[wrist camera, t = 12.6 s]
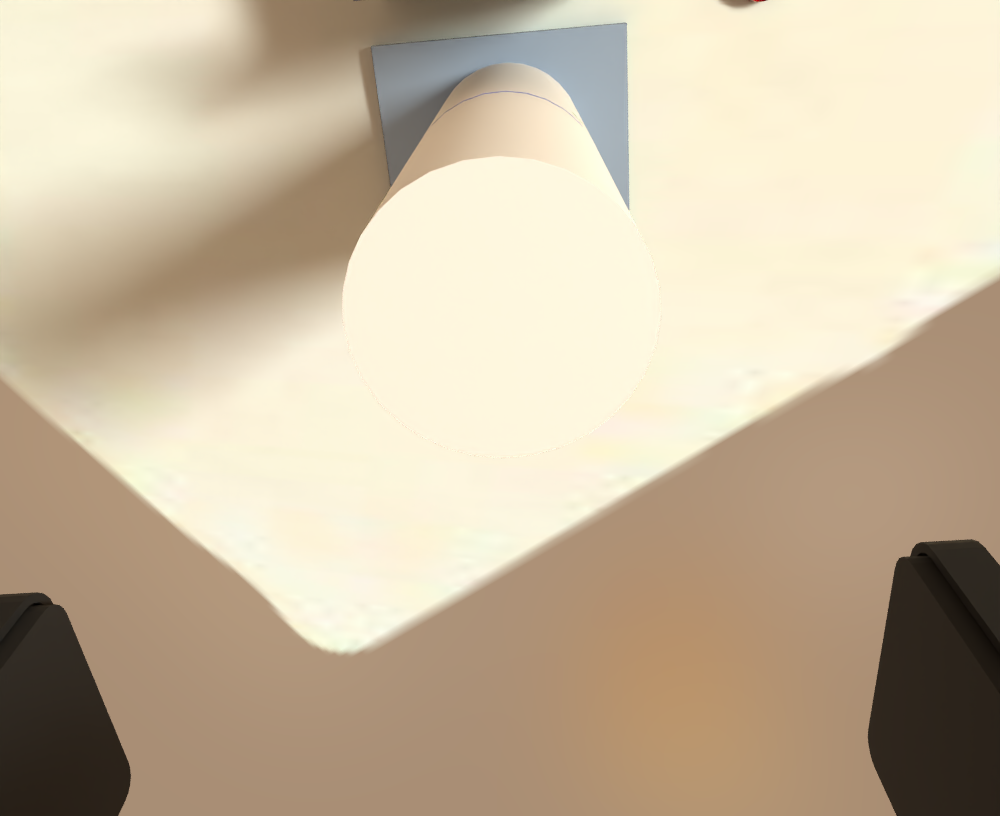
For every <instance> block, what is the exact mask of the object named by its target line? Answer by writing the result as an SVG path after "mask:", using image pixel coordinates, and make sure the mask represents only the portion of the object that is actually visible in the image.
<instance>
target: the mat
mask: <svg viewBox="0 0 1000 816" xmlns="http://www.w3.org/2000/svg"><path fill="white" fill-rule="evenodd" d="M371 51H372V58H373V65H374V72H375V79H376V86H377V93H378V100H379V107H380V114H381V121H382V128H383V135H384V142H385V149H386V156H387V164H388V171H389V178H390V185H391V186H392V185H393V183H394V182H395V180H396V179H397V177H398V175H399V174H400V172H401V171H402V169H403V168H404V166H405V164H406V163H407V161H408V160H409V158H410V156H411V155H412V153H413V152H414V150H415V149H416V147H417V145H418V144H419V142H420V141H421V139H422V138H423V136H424V134H425V133H426V131H427V130H428V128H429V126H430V125H431V123H432V122H433V120H434V119H435V117H436V115H437V114H438V112H439V111H440V109H441V107H442V106H443V104H444V103H445V101H446V100H447V98H448V97H449V95H450V94H451V92H452V91H453V90H454V88H455V87H456V86H457V85H458V84H459V83H460V82H461V81H462V80H463V79H464V78H466V77H467V76H469V75H470V74H472V73H474V72H475V71H477V70H479V69H481V68H484V67H487V66H490V65H492V64H500V63H507V62H509V63H520V64H525V65H528V66H532V67H535V68H538V69H539V70H541V71H543V72H545V73H547V74H548V75H550V76H551V77H552V78H553V79H555V80H556V81H557V82H558V83H559V84H560V85H561V86H562V87H563V89H564V90H565V91H566V92H567V94H568V95H569V96H570V98H571V100H572V102H573V104H574V106H575V108H576V110H577V111H578V113H579V115H580V117H581V119H582V121H583V123H584V125H585V127H586V128H587V130H588V132H589V134H590V136H591V138H592V140H593V142H594V144H595V146H596V148H597V150H598V152H599V154H600V156H601V158H602V159H603V161H604V163H605V165H606V167H607V169H608V171H609V173H610V175H611V177H612V179H613V181H614V183H615V185H616V187H617V189H618V191H619V193H620V195H621V197H622V199H623V201H624V203H625V205H626V206H627V208H628V210H629V154H628V81H627V23H617V24H606V25H595V26H584V27H573V28H562V29H551V30H540V31H530V32H519V33H508V34H497V35H486V36H475V37H464V38H453V39H442V40H431V41H420V42H409V43H398V44H387V45H376V46H371Z"/></svg>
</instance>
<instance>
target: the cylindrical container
mask: <svg viewBox="0 0 1000 816" xmlns="http://www.w3.org/2000/svg"><path fill="white" fill-rule="evenodd" d="M660 322H661V302H660V285H659V282H658V278H657V274H656V270H655V266H654V262H653V259H652V255H651V253H650V252H649V250H648V248H647V246H646V244H645V242H644V240H643V238H642V236H641V234H640V232H639V230H638V228H637V226H636V224H635V222H634V220H633V218H632V216H631V214H630V212H629V210H628V208H627V206H626V205H625V203H624V201H623V199H622V197H621V195H620V193H619V191H618V189H617V187H616V185H615V183H614V181H613V179H612V177H611V175H610V173H609V171H608V169H607V167H606V165H605V163H604V161H603V159H602V158H601V156H600V154H599V152H598V150H597V148H596V146H595V144H594V142H593V140H592V138H591V136H590V134H589V132H588V130H587V128H586V127H585V125H584V123H583V121H582V119H581V117H580V115H579V113H578V111H577V110H576V108H575V106H574V104H573V102H572V100H571V98H570V96H569V95H568V94H567V92H566V91H565V90H564V89H563V87H562V86H561V85H560V84H559V83H558V82H557V81H556V80H555V79H553V78H552V77H551V76H550V75H548V74H547V73H545V72H543V71H541V70H539V69H538V68H535V67H532V66H528V65H525V64H520V63H509V62H507V63H500V64H492V65H490V66H487V67H484V68H481V69H479V70H477V71H475V72H474V73H472V74H470V75H469V76H467V77H466V78H464V79H463V80H462V81H461V82H460V83H459V84H458V85H457V86H456V87H455V88H454V90H453V91H452V92H451V94H450V95H449V97H448V98H447V100H446V101H445V103H444V104H443V106H442V107H441V109H440V111H439V112H438V114H437V115H436V117H435V119H434V120H433V122H432V123H431V125H430V126H429V128H428V130H427V131H426V133H425V134H424V136H423V138H422V139H421V141H420V142H419V144H418V145H417V147H416V149H415V150H414V152H413V153H412V155H411V156H410V158H409V160H408V161H407V163H406V164H405V166H404V168H403V169H402V171H401V172H400V174H399V175H398V177H397V179H396V180H395V182H394V183H393V185H392V186H391V188H390V190H389V191H388V193H387V194H386V196H385V198H384V199H383V201H382V202H381V204H380V205H379V207H378V209H377V210H376V212H375V213H374V215H373V217H372V218H371V220H370V221H369V223H368V224H367V226H366V228H365V229H364V231H363V232H362V234H361V235H360V238H359V240H358V242H357V245H356V247H355V249H354V251H353V254H352V256H351V258H350V260H349V264H348V268H347V273H346V278H345V282H344V287H343V325H344V330H345V335H346V339H347V344H348V348H349V352H350V354H351V357H352V359H353V361H354V363H355V366H356V368H357V370H358V372H359V374H360V377H361V379H362V380H363V382H364V383H365V385H366V386H367V387H368V389H369V390H370V391H371V393H372V394H373V396H374V397H375V398H376V400H377V401H378V403H379V404H380V405H381V406H382V407H384V408H385V409H386V410H387V411H388V412H389V413H390V414H391V415H392V416H393V417H394V418H395V419H396V420H397V421H398V422H399V423H401V424H402V425H404V426H405V427H407V428H408V429H410V430H411V431H413V432H414V433H416V434H417V435H419V436H420V437H422V438H424V439H426V440H429V441H431V442H433V443H435V444H438V445H440V446H442V447H444V448H447V449H450V450H454V451H458V452H462V453H466V454H470V455H474V456H485V457H497V458H509V457H519V456H530V455H536V454H539V453H543V452H546V451H550V450H554V449H557V448H561V447H563V446H565V445H567V444H570V443H572V442H574V441H576V440H578V439H580V438H582V437H584V436H586V435H588V434H590V433H591V432H592V431H594V430H595V429H596V428H598V427H599V426H600V425H602V424H603V423H604V422H606V421H607V420H608V419H610V418H611V417H612V416H613V415H614V414H615V413H616V412H617V411H618V410H619V409H620V408H621V407H622V406H623V405H624V403H625V402H626V401H627V400H628V399H629V398H630V397H631V395H632V394H633V392H634V391H635V389H636V388H637V386H638V385H639V383H640V381H641V380H642V378H643V377H644V375H645V373H646V371H647V368H648V366H649V363H650V361H651V358H652V356H653V353H654V351H655V349H656V343H657V338H658V333H659V327H660Z"/></svg>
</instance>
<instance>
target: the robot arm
mask: <svg viewBox="0 0 1000 816" xmlns="http://www.w3.org/2000/svg"><path fill="white" fill-rule="evenodd" d="M868 743H869V749H870V754H871V758H872V761H873V764H874V767H875V769H876V771H877V774H878V776H879V778H880V780H881V782H882V785H883V787H884V789H885V791H886V793H887V795H888V798H889V800H890V802H891V804H892V806H893V809H894V811H895V813H896V815H897V816H1000V565H999V564H998V563H997V562H996V560H995V559H994V558H993V557H992V556H991V555H990V553H989V552H988V551H987V550H986V548H985V547H984V546H983V545H981V544H980V543H979V542H978V541H975V540H972V539H971V540H954V541H938V542H937V541H936V542H921V543H918V544H916V545H915V547H914V548H913V549H912V553H911V556H910V557H901V558H899V560H898V561H897V563H896V567H895V571H894V577H893V584H892V590H891V596H890V602H889V608H888V614H887V620H886V626H885V632H884V639H883V644H882V651H881V656H880V662H879V669H878V674H877V680H876V686H875V693H874V699H873V705H872V711H871V717H870V723H869V729H868ZM130 779H131V774H130V766H129V763H128V760H127V758H126V755H125V753H124V750H123V748H122V746H121V743H120V741H119V739H118V736H117V734H116V731H115V729H114V726H113V724H112V722H111V719H110V717H109V714H108V712H107V709H106V707H105V705H104V702H103V700H102V697H101V695H100V693H99V690H98V688H97V685H96V683H95V680H94V678H93V676H92V673H91V671H90V668H89V666H88V664H87V661H86V659H85V656H84V654H83V652H82V649H81V647H80V644H79V642H78V640H77V637H76V635H75V632H74V630H73V627H72V625H71V622H70V620H69V618H68V615H67V613H66V612H65V610H64V608H62V607H61V606H60V605H55V604H53V603H52V601H51V599H50V598H49V597H47V596H46V595H45V594H42V593H20V594H3V595H0V816H118V815H119V812H120V810H121V808H122V806H123V804H124V802H125V800H126V797H127V794H128V791H129V787H130Z"/></svg>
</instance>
